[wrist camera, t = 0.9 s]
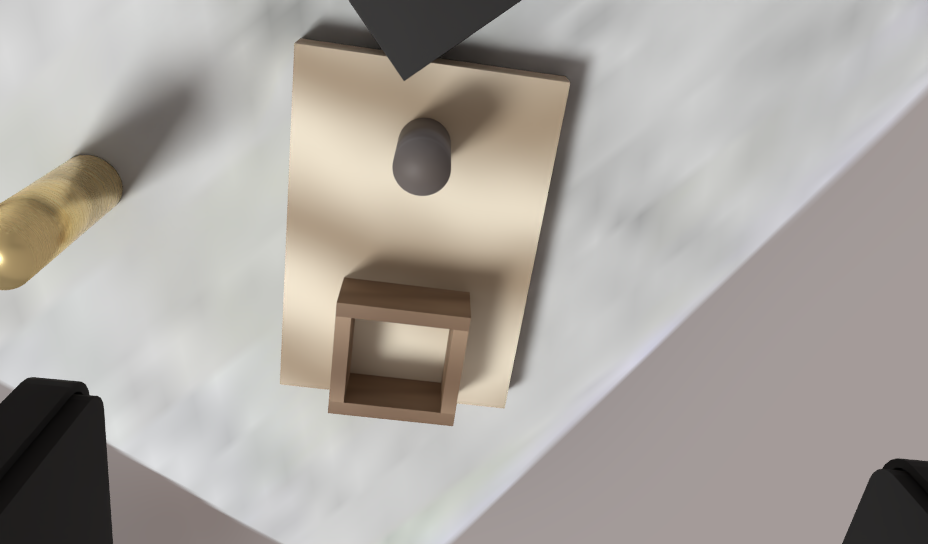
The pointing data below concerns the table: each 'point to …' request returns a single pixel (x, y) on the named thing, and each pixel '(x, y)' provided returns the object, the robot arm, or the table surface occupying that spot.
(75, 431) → the robot arm
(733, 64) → the table surface
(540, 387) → the table surface
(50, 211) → the brass pin
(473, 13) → the picture frame
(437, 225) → the board
